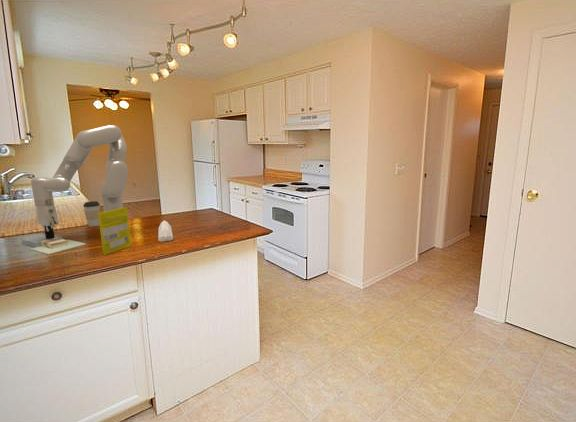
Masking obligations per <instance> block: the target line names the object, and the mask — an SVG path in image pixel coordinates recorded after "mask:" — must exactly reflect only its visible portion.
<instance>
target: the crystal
mask: <svg viewBox="0 0 576 422" xmlns="http://www.w3.org/2000/svg"><path fill="white" fill-rule="evenodd" d="M157 232H158V236H157V237H158V239H157V241H158V242H163V243H164V242H171V241H173V240H174V235H173V229H172V225H170V224H169V222H168V221H166V220H163V221H161V222H160V224H159V226H158V230H157Z"/></svg>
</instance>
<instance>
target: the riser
mask: <svg viewBox="0 0 576 422" xmlns="http://www.w3.org/2000/svg"><path fill="white" fill-rule="evenodd" d="M54 238H61V239H64V238H63V236H60V235H56V234H54ZM51 239H52V238H51ZM44 240H48V239H46V237H45V233H44V234H40V235H35V236H30V237H26V238H22V239H21V244H22V245H25V246H29V247H32V248H35V247H39V246H42V245H41V241H44Z"/></svg>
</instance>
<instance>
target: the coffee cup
mask: <svg viewBox="0 0 576 422" xmlns="http://www.w3.org/2000/svg"><path fill="white" fill-rule="evenodd" d="M100 205H101V204H100V203H99V201H98V200H96V201H94V200H93V201H87V202H86V201H85V202H84V203H83V209H84V210H83V211H84V217H85V219H86V223H87V226H89V227H96V226H99V218H98V213H101V206H100Z"/></svg>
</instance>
